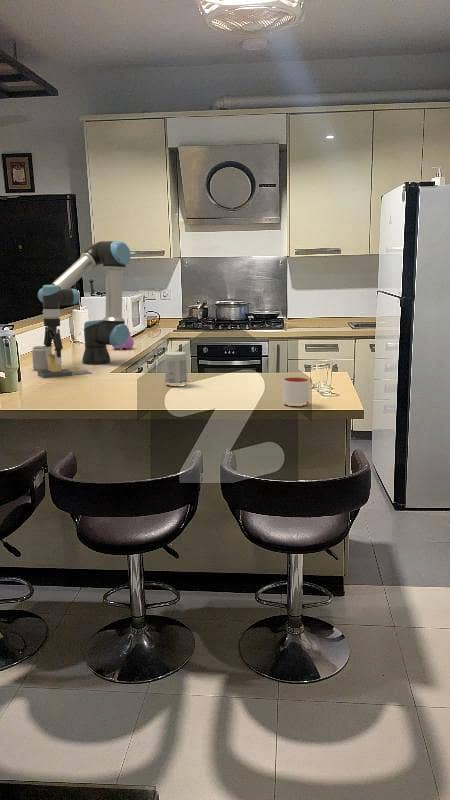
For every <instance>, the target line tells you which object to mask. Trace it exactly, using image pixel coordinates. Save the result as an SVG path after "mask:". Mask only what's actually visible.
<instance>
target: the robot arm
mask: <svg viewBox="0 0 450 800" xmlns="http://www.w3.org/2000/svg"><path fill="white" fill-rule="evenodd" d="M131 255H132V254H131V250H130V247H129V245H127V243H125V242H124V241H120V240H109V241H108V240H102V241H98V242H95V243H93V244H92V245H91V246H89V247H88V248H86V249H85V250H84V251H83V252H82V253H81V254H80V256H79V258H78V259H77V260H76V261H75V262H74V263H72V265H71V266H70V267H68V268H67V269H66V270H65V271H64V272H63V273H62V274H60V275H59V276H58V277H57V278H56V279H55V280H54V281H53V282H52V283H51V284H44V285H42V288H40V289H39V290H38V292H37V298H38V300H39V301H40V302H41V303H42V308H43V310H42V314H43V317H44V318H43V326H44V330H45V332H44V339H43V346H45V347H46V360H47V355H52V354H53V352H52V351H53V350H52V347H53V345H54V354H55V364H61V365H62V362H63V361H62V350H63V349H64V347H63V342H62V338H61V331H60V329H59V328H58V327H60V326H61V318H60V317H61V312H60V311H61V310H60V309H61V307H60V305H61V306H63V305H64V306H65V305H66V306H67V305H75V304H78V303H79V302H80V299H81V296H80V293H79V290H77V289H76V288H72V286H73V285H75V284H76V283H77V282H78V281H79V280H80V279H81V278H82V277H84V275H86V274H87V273H88V272H89V271H90V270H92V269H95V268H97V266H100V265H102V266H103V269H104V270H105V317H103V319H98V320H89V321H85V322H84V325H83V335H84V338H83V339H84V351H83V356H82V359H81V363H82V364H86V365H104V364H109V363H111V356H110V353H109V352H108V347H107V346H112V345H113V346H121V345H123V344H124V343H125V342H126V341H127V340H128V337H129V332H130V329H129V327H128V326H127V325H126V323H125V321H126V320H125V319H124V318H123V277H124V276H123V274H124V273H123V272H124V270H126V268H127V264H128V263H129V261H130V260H131ZM52 342H53V344H52ZM113 346H112V347H113Z"/></svg>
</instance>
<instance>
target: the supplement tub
mask: <svg viewBox="0 0 450 800" xmlns="http://www.w3.org/2000/svg"><path fill="white" fill-rule="evenodd" d="M187 371H188V369H187V354H186V352H184V351H168V352H165V353H164V374H165V376H164V379H165V383H166V382H169V383H182V382H186V381H187V382H188V380H187V379H188V378H187V377H188V376H187Z"/></svg>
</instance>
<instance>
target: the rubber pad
mask: <svg viewBox="0 0 450 800" xmlns="http://www.w3.org/2000/svg"><path fill="white" fill-rule="evenodd" d="M73 374H74V375H76V376H80V375H89V374H93V372H91V371H89V370H78V371H76V370H75V371H72V375H73Z"/></svg>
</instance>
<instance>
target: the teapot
mask: <svg viewBox="0 0 450 800" xmlns="http://www.w3.org/2000/svg"><path fill="white" fill-rule="evenodd" d="M131 334H132V332H131V331H129V337H128V340H127V341H126V342H125V343H124V344H123V345H121V346H113V345H111V346H112V348H114V350H118V351H123V350H122V349H123V348H126V349H130V350H131V349H132V348H133V346H134V344H135V342H134V339H133V336H132V335H131ZM118 348H119V349H118Z"/></svg>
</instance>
